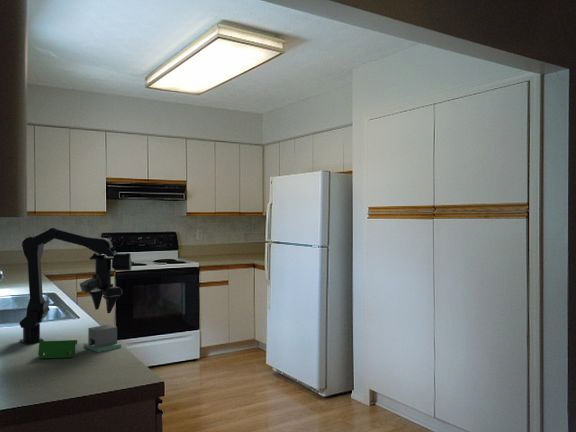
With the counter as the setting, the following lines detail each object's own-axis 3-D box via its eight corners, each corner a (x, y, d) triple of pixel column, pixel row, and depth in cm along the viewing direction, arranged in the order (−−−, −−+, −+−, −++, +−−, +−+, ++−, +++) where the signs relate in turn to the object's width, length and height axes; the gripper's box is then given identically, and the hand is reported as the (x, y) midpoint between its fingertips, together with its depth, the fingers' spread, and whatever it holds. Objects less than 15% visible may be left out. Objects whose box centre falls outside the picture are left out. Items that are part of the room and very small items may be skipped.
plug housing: (88, 344, 182) (88, 327, 182) (108, 340, 188) (108, 324, 188) (96, 347, 178) (96, 330, 178) (117, 343, 184) (117, 327, 184)
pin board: (84, 346, 183) (84, 338, 183) (107, 342, 189) (107, 333, 189) (97, 352, 176) (97, 343, 176) (121, 347, 183) (121, 338, 183)
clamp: (70, 366, 174) (82, 341, 176) (66, 368, 168) (79, 342, 171) (37, 354, 173) (50, 329, 175) (32, 354, 167) (45, 329, 170)
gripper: (71, 270, 192) (71, 310, 193) (95, 275, 180) (94, 318, 180) (98, 267, 201) (98, 306, 201) (123, 272, 188) (122, 313, 189)
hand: (102, 311), depth 192 cm, fingers open, 9 cm apart
